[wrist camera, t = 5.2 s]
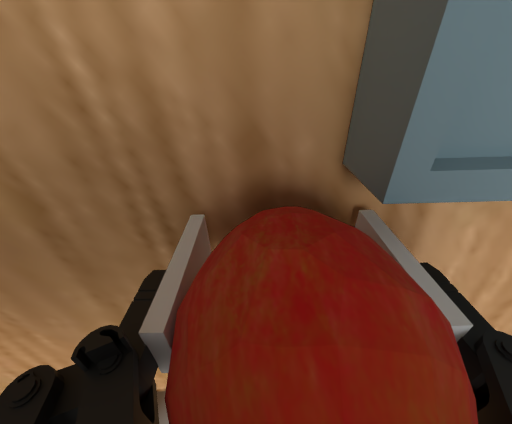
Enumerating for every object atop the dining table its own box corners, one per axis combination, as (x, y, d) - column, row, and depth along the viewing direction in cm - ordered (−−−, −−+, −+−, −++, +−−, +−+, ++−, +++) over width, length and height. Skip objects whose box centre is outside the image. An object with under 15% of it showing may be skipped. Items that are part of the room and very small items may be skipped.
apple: (236, 285, 16) (210, 571, 7) (181, 184, 12) (-94, 608, 2) (356, 260, 15) (525, 573, 6) (347, 136, 10) (1115, 665, 1)
